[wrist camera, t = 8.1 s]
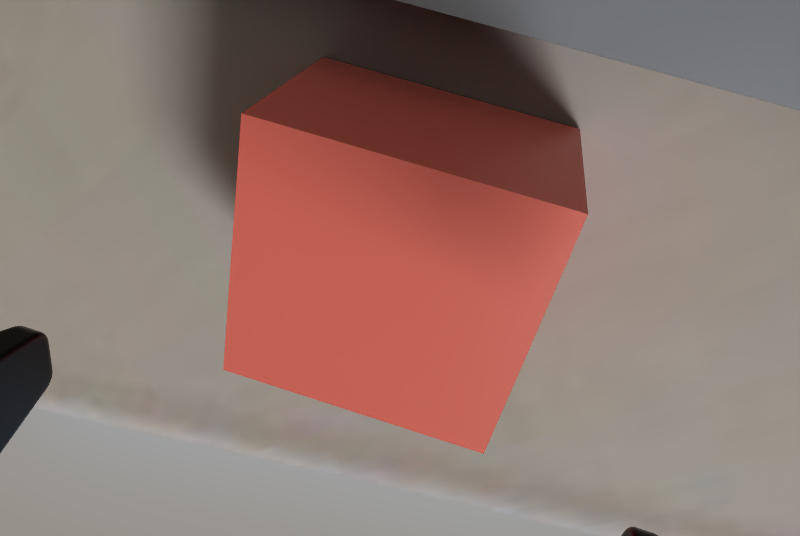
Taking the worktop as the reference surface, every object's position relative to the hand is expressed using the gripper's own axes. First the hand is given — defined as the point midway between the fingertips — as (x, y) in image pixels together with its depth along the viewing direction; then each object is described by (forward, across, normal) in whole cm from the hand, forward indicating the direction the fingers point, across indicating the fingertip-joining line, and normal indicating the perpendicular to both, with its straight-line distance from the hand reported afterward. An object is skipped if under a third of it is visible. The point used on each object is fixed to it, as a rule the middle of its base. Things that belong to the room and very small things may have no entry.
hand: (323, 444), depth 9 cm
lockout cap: (+8, 0, 0) cm, 8 cm away
